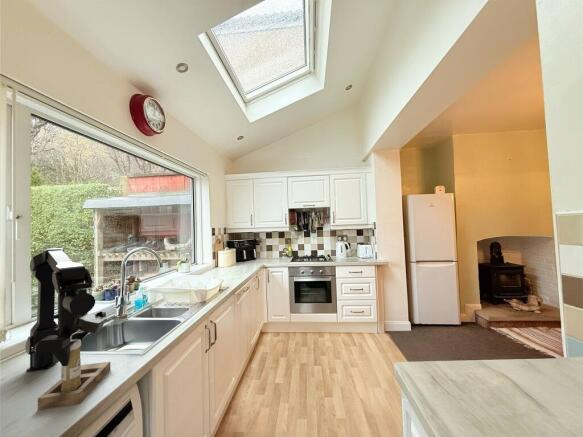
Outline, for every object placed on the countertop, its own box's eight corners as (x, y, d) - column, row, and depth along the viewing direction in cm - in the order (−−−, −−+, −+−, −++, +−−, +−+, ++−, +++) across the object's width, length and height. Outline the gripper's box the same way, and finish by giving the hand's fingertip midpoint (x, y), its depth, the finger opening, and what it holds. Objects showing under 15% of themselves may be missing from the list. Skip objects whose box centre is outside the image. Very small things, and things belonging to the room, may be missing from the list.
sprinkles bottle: (79, 388, 75) (79, 342, 75) (59, 394, 72) (59, 346, 73) (82, 381, 78) (82, 336, 79) (62, 386, 76) (62, 340, 76)
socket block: (37, 409, 69) (37, 398, 69) (77, 374, 86) (77, 365, 86) (79, 403, 71) (79, 392, 71) (110, 370, 88) (110, 361, 88)
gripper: (82, 316, 68) (82, 376, 68) (116, 297, 87) (116, 344, 86) (33, 320, 66) (33, 381, 66) (78, 300, 84) (78, 348, 84)
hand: (70, 361), depth 75 cm, fingers closed on sprinkles bottle, 4 cm apart
